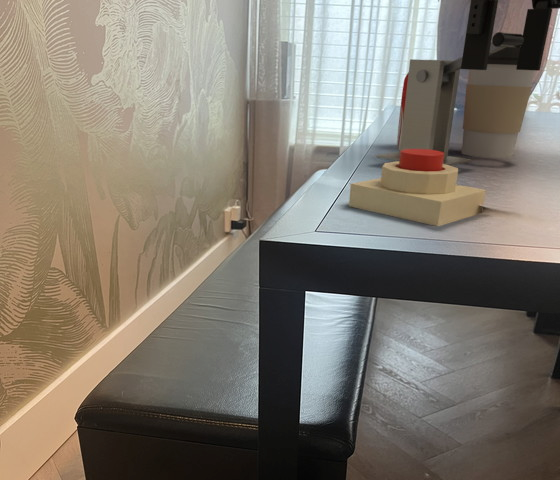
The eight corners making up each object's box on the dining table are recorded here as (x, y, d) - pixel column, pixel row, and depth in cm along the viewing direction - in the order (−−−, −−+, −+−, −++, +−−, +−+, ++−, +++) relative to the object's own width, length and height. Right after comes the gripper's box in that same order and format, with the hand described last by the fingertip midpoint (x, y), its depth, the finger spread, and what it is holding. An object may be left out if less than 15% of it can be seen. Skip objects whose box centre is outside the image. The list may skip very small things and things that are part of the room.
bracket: (470, 168, 81) (487, 61, 75) (438, 175, 76) (454, 60, 70) (407, 158, 88) (419, 59, 82) (374, 164, 82) (384, 58, 76)
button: (449, 172, 57) (452, 152, 56) (426, 176, 55) (429, 156, 54) (413, 166, 60) (415, 147, 59) (389, 170, 57) (391, 151, 56)
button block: (482, 213, 58) (490, 170, 56) (437, 227, 53) (444, 179, 51) (395, 196, 64) (400, 156, 62) (348, 206, 59) (351, 164, 57)
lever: (525, 48, 71) (522, 27, 70) (506, 47, 67) (501, 25, 67) (437, 89, 80) (432, 70, 79) (415, 90, 76) (411, 70, 76)
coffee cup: (517, 168, 83) (542, 43, 76) (450, 162, 85) (468, 41, 78) (518, 159, 90) (541, 44, 83) (456, 154, 93) (473, 43, 86)
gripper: (558, -134, 71) (519, 69, 81) (447, -193, 55) (415, 67, 65) (626, -145, 66) (576, 71, 76) (526, -213, 50) (479, 71, 60)
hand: (502, 70), depth 71 cm, fingers open, 13 cm apart
